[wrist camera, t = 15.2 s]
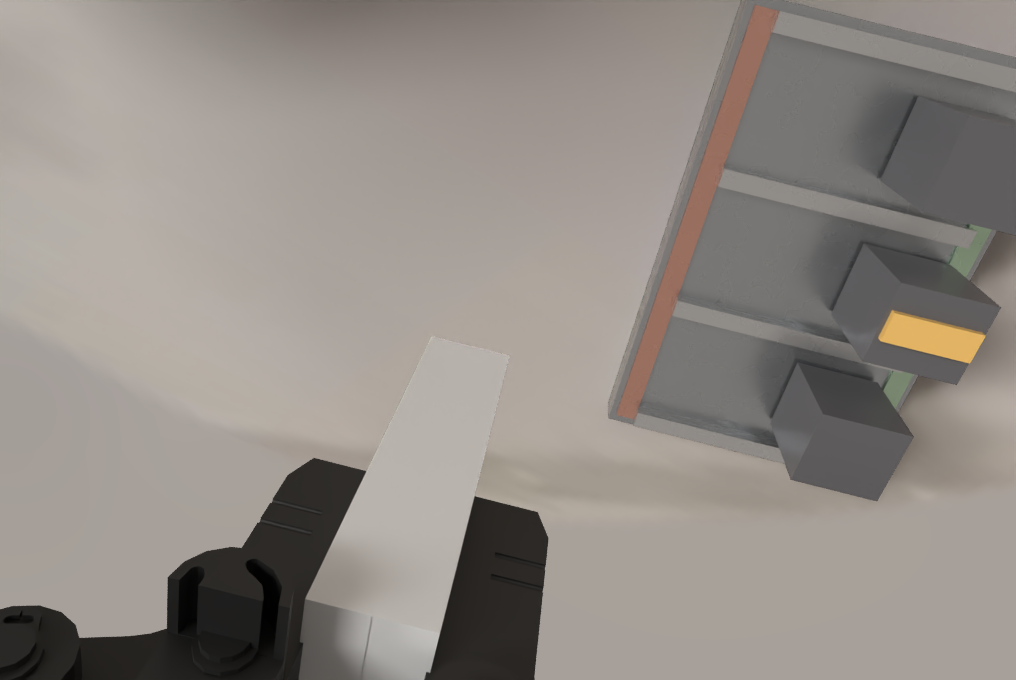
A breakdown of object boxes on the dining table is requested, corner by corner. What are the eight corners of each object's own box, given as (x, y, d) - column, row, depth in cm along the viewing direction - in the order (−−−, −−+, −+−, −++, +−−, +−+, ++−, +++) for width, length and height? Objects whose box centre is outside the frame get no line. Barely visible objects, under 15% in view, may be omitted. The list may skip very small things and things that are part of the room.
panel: (608, 402, 51) (608, 426, 48) (744, -9, 39) (754, -8, 37) (851, 463, 51) (865, 490, 48) (1060, 69, 39) (1093, 76, 37)
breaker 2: (880, 180, 41) (921, 212, 35) (918, 95, 39) (968, 115, 33) (970, 202, 41) (1026, 237, 35) (1013, 119, 38) (1079, 143, 33)
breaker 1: (770, 422, 48) (790, 479, 42) (797, 362, 46) (823, 414, 40) (846, 442, 48) (877, 501, 42) (877, 382, 46) (913, 436, 40)
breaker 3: (831, 314, 44) (864, 364, 38) (863, 243, 42) (904, 285, 36) (914, 334, 44) (959, 388, 38) (950, 264, 42) (1004, 310, 36)
